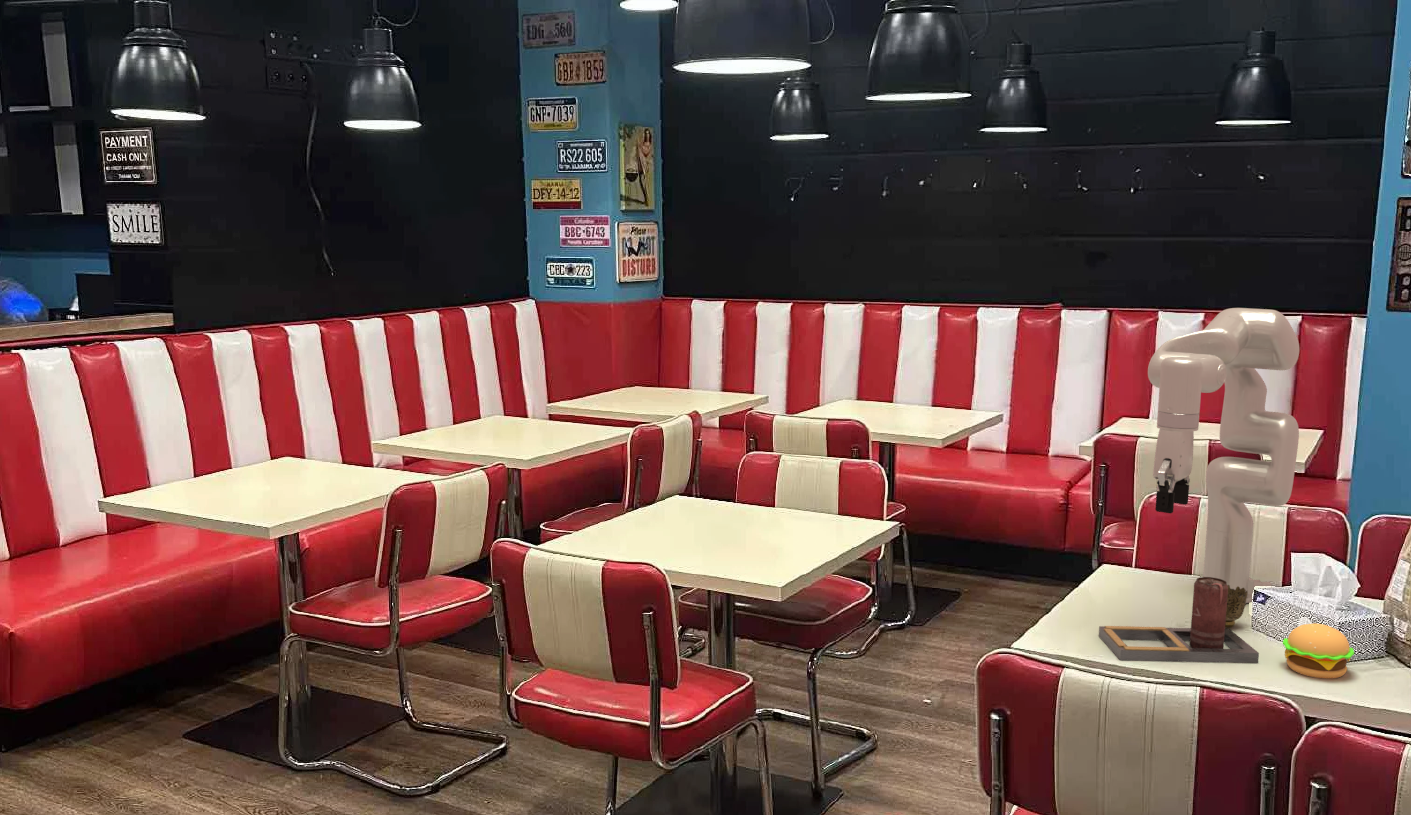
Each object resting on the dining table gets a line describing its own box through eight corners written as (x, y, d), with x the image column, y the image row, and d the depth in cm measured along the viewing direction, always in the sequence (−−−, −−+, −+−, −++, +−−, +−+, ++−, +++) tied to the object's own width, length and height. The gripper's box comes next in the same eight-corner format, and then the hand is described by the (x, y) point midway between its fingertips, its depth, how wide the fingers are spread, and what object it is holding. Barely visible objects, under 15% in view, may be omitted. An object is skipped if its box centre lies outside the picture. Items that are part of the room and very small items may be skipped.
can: (1207, 657, 234) (1213, 586, 232) (1182, 646, 240) (1187, 577, 238) (1231, 653, 237) (1236, 583, 235) (1205, 642, 243) (1211, 574, 241)
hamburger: (1268, 667, 229) (1272, 623, 228) (1300, 654, 237) (1303, 611, 235) (1333, 687, 220) (1337, 641, 219) (1363, 673, 227) (1368, 628, 226)
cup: (1250, 625, 253) (1253, 588, 252) (1237, 634, 248) (1240, 596, 247) (1214, 617, 258) (1216, 581, 257) (1200, 625, 253) (1203, 588, 252)
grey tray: (1228, 638, 245) (1229, 627, 245) (1258, 663, 231) (1258, 652, 231) (1098, 635, 246) (1099, 625, 246) (1120, 660, 232) (1120, 649, 232)
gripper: (1171, 414, 244) (1165, 497, 247) (1144, 424, 230) (1138, 512, 233) (1210, 418, 240) (1204, 503, 242) (1185, 428, 226) (1178, 518, 228)
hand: (1171, 507), depth 238 cm, fingers open, 9 cm apart
